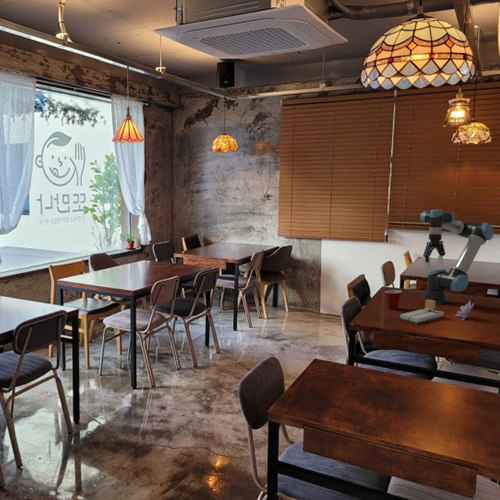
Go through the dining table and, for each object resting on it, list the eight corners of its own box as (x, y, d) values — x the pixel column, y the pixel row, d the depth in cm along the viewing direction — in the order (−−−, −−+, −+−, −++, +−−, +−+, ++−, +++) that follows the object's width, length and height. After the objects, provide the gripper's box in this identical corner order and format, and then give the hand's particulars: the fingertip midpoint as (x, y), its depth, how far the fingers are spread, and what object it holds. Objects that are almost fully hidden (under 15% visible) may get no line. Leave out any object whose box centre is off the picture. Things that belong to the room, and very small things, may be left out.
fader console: (400, 319, 276) (400, 314, 275) (426, 313, 290) (426, 307, 290) (417, 324, 266) (417, 318, 266) (443, 317, 280) (443, 311, 280)
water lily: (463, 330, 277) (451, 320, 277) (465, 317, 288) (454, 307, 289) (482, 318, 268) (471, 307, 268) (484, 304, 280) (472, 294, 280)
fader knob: (424, 313, 283) (425, 300, 282) (427, 313, 285) (428, 299, 284) (431, 315, 279) (432, 301, 278) (434, 314, 281) (435, 300, 280)
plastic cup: (389, 305, 310) (389, 288, 308) (404, 308, 302) (404, 290, 301) (380, 308, 302) (381, 290, 301) (396, 311, 295) (396, 293, 293)
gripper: (428, 235, 282) (427, 269, 285) (452, 233, 296) (450, 265, 299) (418, 234, 288) (416, 267, 291) (441, 232, 302) (440, 263, 305)
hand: (433, 266), depth 295 cm, fingers open, 13 cm apart
